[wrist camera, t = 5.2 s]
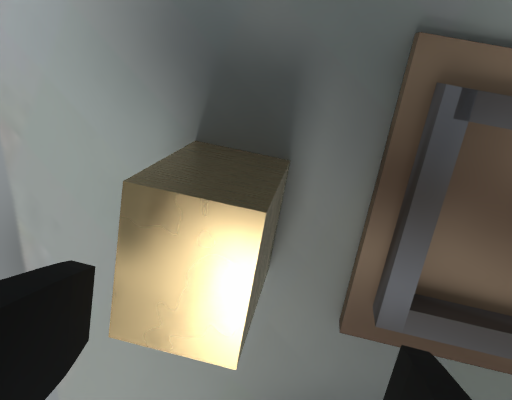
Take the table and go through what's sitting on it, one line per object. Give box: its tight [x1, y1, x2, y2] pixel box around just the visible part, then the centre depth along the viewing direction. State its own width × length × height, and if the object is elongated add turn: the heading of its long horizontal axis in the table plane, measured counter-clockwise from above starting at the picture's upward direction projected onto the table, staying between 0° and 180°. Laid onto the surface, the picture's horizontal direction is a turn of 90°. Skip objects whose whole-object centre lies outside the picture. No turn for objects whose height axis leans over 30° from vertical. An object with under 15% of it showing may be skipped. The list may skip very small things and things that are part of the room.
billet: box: [109, 141, 290, 370], centre depth 17 cm, size 5×4×7 cm
